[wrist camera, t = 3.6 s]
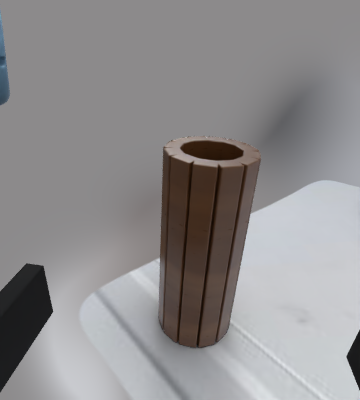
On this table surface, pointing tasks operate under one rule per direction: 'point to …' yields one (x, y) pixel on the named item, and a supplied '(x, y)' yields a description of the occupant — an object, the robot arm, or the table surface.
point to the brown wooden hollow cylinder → (203, 234)
